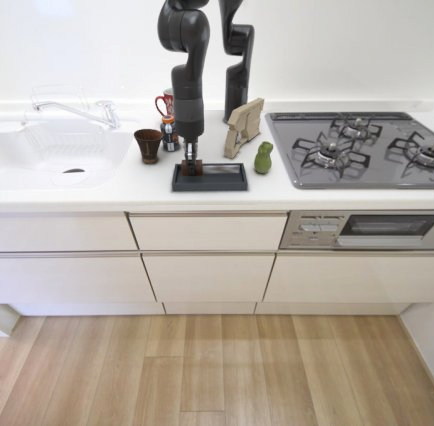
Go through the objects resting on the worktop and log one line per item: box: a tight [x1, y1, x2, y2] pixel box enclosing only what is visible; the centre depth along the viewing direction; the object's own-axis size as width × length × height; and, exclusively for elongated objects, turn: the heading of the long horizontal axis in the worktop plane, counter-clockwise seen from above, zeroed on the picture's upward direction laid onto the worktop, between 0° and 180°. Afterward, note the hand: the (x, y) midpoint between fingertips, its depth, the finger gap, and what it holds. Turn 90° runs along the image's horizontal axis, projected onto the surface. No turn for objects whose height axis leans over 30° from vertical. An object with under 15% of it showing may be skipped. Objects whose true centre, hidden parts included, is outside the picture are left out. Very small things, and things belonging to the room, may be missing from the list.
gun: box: [223, 97, 265, 159], centre depth 84 cm, size 24×3×15 cm, turn 148°
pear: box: [253, 140, 274, 174], centre depth 72 cm, size 6×5×10 cm
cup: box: [133, 128, 163, 164], centre depth 78 cm, size 9×9×10 cm
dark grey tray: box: [171, 162, 249, 192], centre depth 72 cm, size 22×11×3 cm, turn 91°
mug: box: [154, 87, 175, 122], centre depth 97 cm, size 13×9×14 cm
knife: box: [180, 158, 240, 176], centre depth 70 cm, size 17×3×4 cm, turn 91°
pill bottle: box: [159, 114, 180, 152], centre depth 83 cm, size 6×6×11 cm
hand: (192, 172), depth 71 cm, fingers closed on knife, 2 cm apart
